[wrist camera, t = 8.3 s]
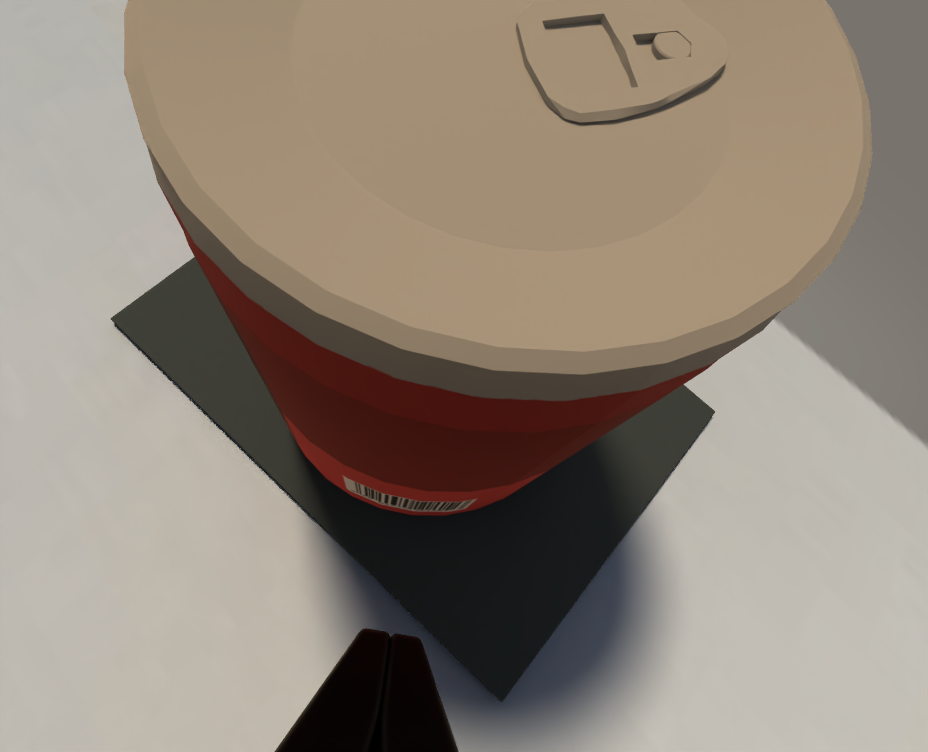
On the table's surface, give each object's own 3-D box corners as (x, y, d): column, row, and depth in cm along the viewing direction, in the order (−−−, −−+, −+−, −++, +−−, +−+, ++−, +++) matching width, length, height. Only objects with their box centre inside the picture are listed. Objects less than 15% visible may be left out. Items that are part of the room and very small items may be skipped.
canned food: (619, 427, 17) (1017, 172, 6) (371, 584, 14) (370, 579, 4) (477, 221, 18) (613, -244, 8) (234, 331, 16) (-15, -132, 6)
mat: (500, 700, 14) (501, 702, 14) (112, 321, 16) (109, 318, 15) (712, 413, 17) (715, 411, 17) (376, 128, 19) (375, 123, 19)
